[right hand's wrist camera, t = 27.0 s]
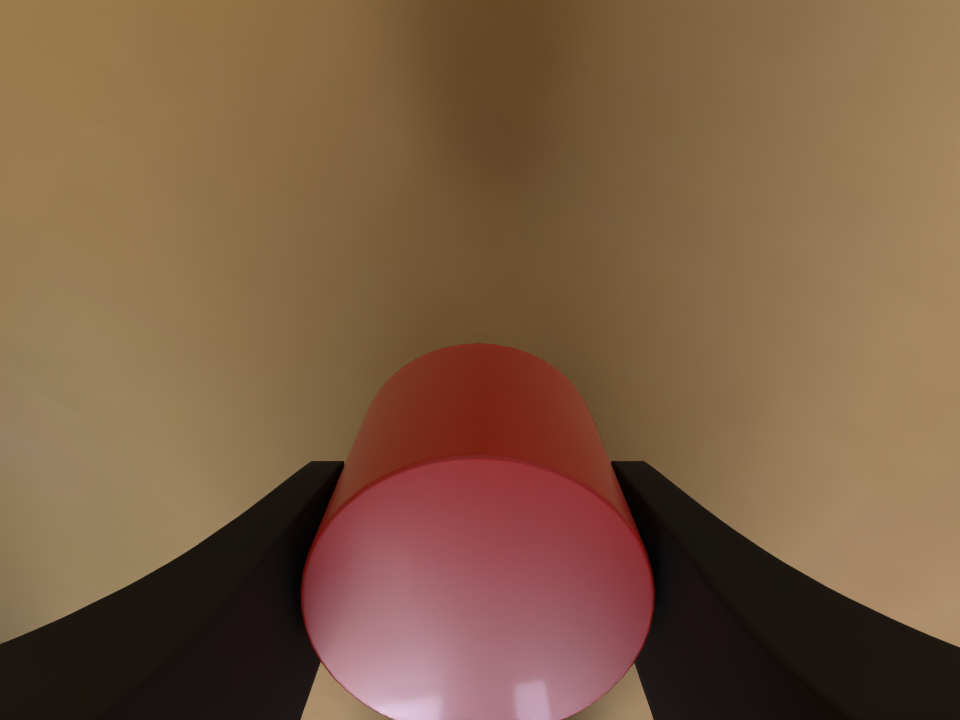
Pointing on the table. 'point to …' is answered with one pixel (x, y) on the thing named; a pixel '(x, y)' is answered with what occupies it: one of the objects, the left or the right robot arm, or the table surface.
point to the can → (477, 548)
